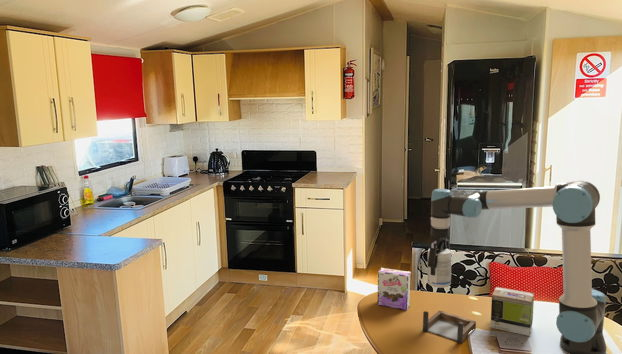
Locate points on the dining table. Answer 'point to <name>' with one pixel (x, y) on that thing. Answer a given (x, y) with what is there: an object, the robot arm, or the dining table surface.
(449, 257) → the supplement tub
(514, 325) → the tea box
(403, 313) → the dining table surface
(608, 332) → the dining table surface
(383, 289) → the candy box
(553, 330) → the dining table surface
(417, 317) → the dining table surface
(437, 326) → the keeper cradle
